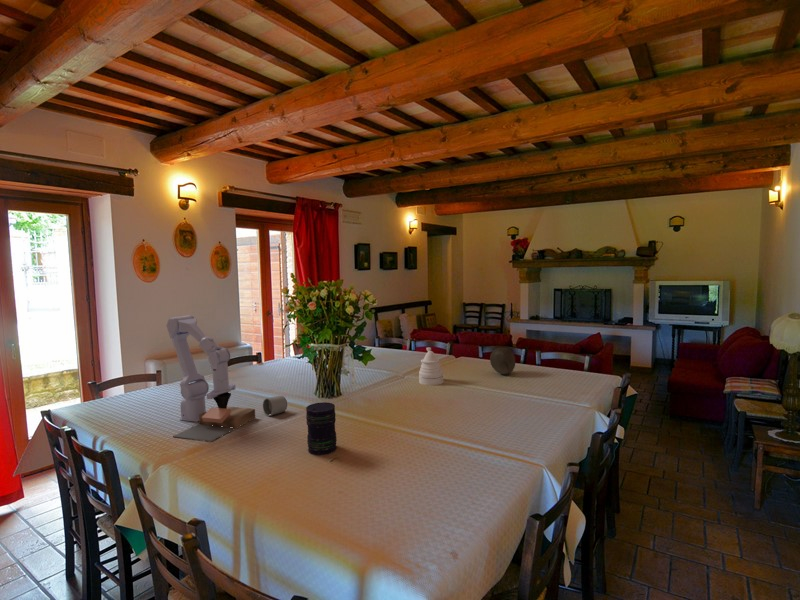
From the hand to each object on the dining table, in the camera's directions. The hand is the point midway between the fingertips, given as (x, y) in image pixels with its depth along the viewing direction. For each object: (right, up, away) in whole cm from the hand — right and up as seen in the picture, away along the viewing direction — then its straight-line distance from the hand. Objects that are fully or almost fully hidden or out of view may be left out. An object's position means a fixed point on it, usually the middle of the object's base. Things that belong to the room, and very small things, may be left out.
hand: (222, 411), depth 178 cm
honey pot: (+89, +2, +54) cm, 104 cm away
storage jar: (+46, -6, -28) cm, 54 cm away
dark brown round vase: (+130, +4, +66) cm, 145 cm away
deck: (+1, -5, +3) cm, 6 cm away
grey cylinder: (+17, -4, +12) cm, 21 cm away
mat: (-3, -6, -10) cm, 12 cm away
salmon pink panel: (-1, -1, -3) cm, 4 cm away
